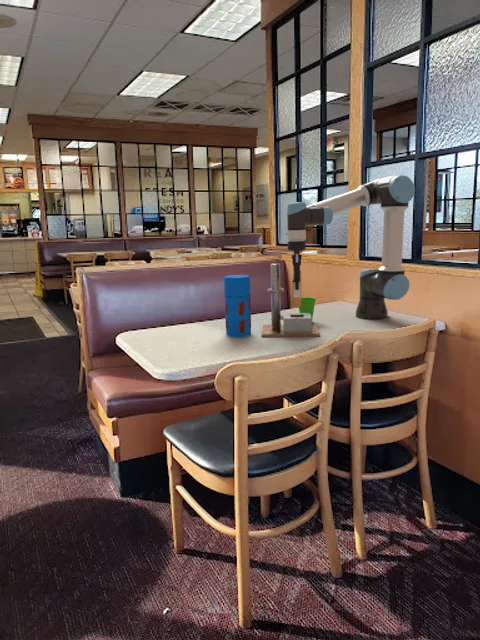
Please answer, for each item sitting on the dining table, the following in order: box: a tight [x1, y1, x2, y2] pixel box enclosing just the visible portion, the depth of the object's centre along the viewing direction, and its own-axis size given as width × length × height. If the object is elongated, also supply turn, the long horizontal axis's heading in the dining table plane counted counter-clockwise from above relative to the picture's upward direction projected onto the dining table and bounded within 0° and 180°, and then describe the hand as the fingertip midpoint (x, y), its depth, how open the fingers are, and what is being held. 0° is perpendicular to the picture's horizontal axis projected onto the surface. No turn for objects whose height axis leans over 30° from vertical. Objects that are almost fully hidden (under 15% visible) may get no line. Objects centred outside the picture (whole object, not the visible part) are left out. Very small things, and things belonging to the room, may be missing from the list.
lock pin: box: [291, 269, 302, 308], centre depth 205 cm, size 4×4×15 cm
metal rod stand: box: [261, 263, 321, 338], centre depth 208 cm, size 24×18×29 cm
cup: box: [298, 296, 317, 319], centre depth 228 cm, size 9×9×11 cm
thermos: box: [223, 274, 252, 338], centre depth 206 cm, size 11×11×25 cm
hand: (296, 296), depth 206 cm, fingers closed on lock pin, 4 cm apart
